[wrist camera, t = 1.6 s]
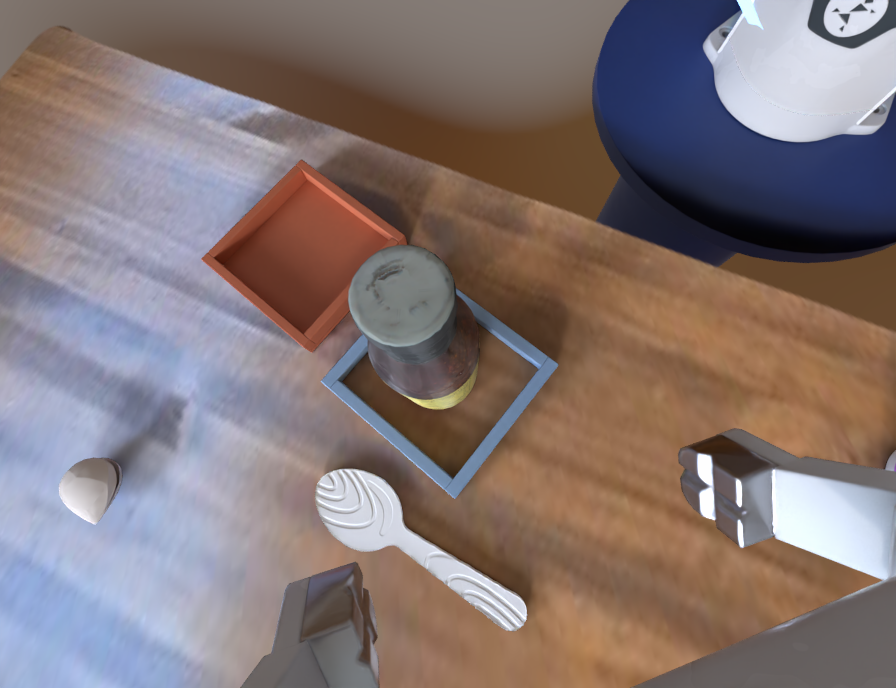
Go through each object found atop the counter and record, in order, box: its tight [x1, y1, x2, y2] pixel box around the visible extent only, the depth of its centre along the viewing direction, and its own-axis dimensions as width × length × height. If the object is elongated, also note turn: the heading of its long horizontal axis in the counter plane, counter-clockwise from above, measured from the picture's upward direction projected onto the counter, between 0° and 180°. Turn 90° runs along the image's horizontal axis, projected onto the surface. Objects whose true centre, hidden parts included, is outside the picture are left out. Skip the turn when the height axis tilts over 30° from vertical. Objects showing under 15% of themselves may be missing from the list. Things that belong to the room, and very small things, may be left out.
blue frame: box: [321, 288, 559, 499], centre depth 34 cm, size 13×14×1 cm
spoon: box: [315, 468, 527, 632], centre depth 31 cm, size 5×18×1 cm, turn 59°
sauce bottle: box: [348, 245, 480, 409], centre depth 25 cm, size 6×6×20 cm
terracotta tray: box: [201, 160, 408, 352], centre depth 37 cm, size 13×13×2 cm
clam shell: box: [59, 458, 122, 524], centre depth 32 cm, size 4×5×2 cm
